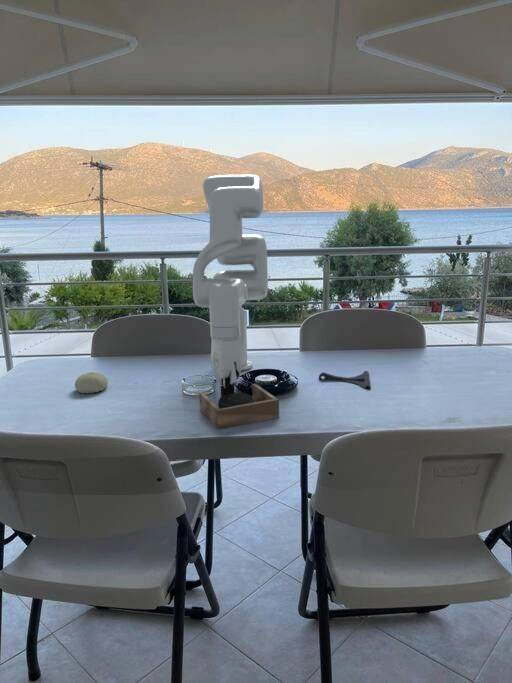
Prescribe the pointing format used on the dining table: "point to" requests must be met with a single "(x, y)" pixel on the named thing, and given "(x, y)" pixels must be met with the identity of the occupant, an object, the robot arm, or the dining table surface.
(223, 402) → the smart speaker
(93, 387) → the sea urchin shell
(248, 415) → the box
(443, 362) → the dining table surface
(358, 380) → the bracket
